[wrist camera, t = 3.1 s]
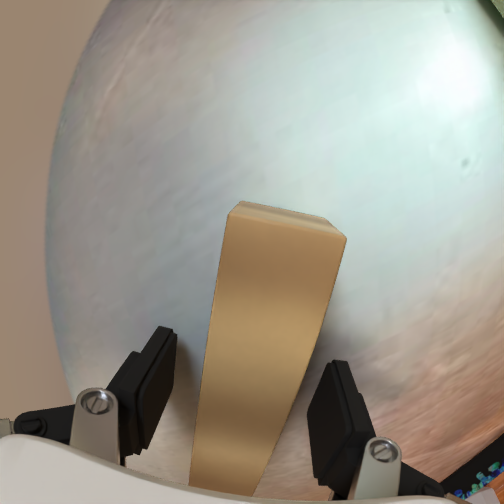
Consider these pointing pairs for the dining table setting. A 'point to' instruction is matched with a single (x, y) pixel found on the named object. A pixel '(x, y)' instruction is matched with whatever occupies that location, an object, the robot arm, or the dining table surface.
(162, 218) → the dining table surface
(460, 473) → the knife
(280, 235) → the stick
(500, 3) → the shallow round dish
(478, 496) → the jar
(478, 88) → the dining table surface
